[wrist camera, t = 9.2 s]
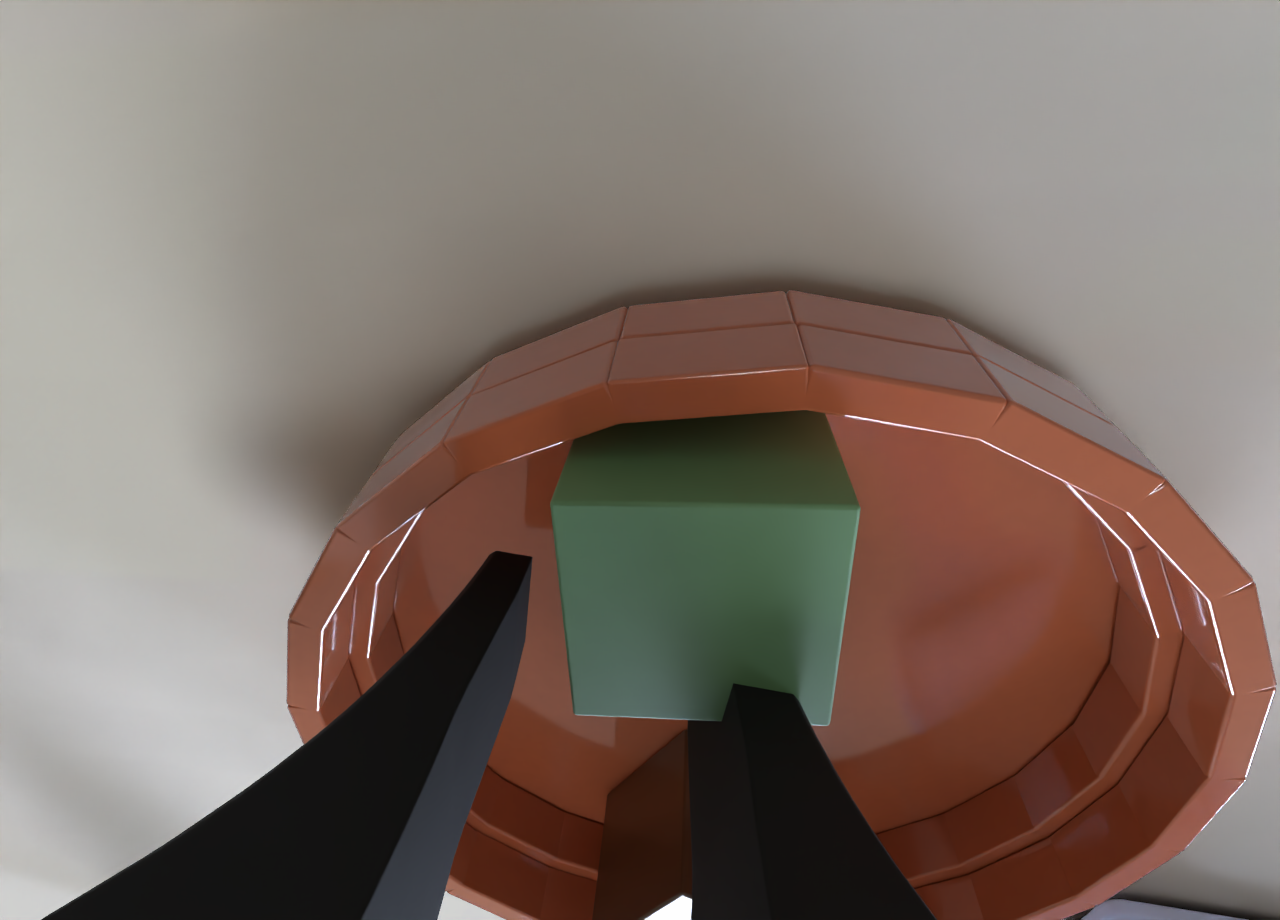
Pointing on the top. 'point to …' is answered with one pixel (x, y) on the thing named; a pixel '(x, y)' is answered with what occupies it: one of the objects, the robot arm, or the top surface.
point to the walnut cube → (648, 842)
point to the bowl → (876, 608)
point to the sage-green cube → (704, 563)
